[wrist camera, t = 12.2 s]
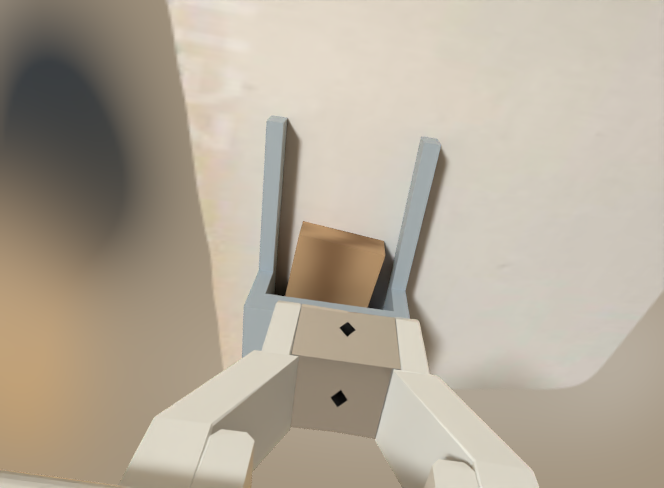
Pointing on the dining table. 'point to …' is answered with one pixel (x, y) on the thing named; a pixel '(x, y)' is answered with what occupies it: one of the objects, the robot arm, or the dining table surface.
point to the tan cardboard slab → (335, 266)
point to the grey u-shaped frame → (263, 287)
